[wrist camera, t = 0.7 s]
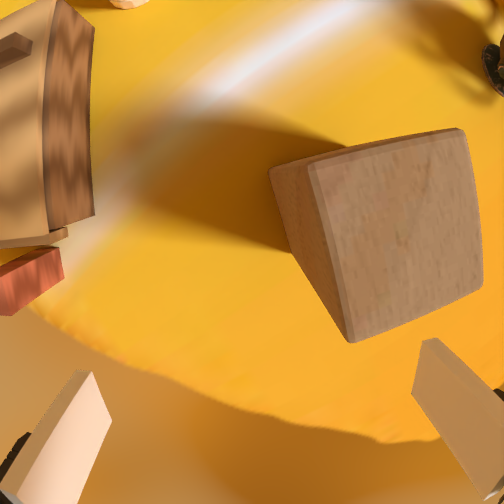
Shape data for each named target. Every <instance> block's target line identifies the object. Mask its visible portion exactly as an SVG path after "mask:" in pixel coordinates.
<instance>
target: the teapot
mask: <svg viewBox="0 0 504 504" xmlns="http://www.w3.org/2000/svg"><path fill="white" fill-rule="evenodd" d="M482 64H483V68H484V71H485V74H486V76H487V78H488V80H489V82H490V84H491V85H492V86H493V88H494V89H495V90H496V91H497V92H498V93H499V94H500V95H501V96H503V97H504V35H503V37H502V39H501V41H500V47H499V46H497V45H495V44H489V45H487V46H485V47H484V49H483V51H482Z"/></svg>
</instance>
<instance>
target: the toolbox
mask: <svg viewBox="0 0 504 504" xmlns="http://www.w3.org/2000/svg"><path fill="white" fill-rule="evenodd" d="M94 32H95V28H94V27H93V26H92V25H91V24H90V23H89V22H88V21H87V20H85V19H84V18H83V17H82V16H81V15H80V14H79V13H78V12H77V11H76V10H74V9H73V8H72V7H71V6H70V5H69V4H68V3H67V2H65V1H64V0H59V1H57V2H56V5H55V10H54V15H53V20H52V25H51V31H50V37H49V44H48V51H47V59H46V68H45V78H44V91H43V110H42V159H43V179H44V192H45V203H46V212H47V221H48V229H49V230H51V229H57V228H60V227H62V226H65V225H68V224H71V223H74V222H77V221H79V220H82V219H85V218H88V217H91V216H94V215H95V212H94V201H93V190H92V176H91V158H90V83H91V65H92V52H93V42H94Z"/></svg>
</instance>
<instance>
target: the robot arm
mask: <svg viewBox="0 0 504 504" xmlns="http://www.w3.org/2000/svg"><path fill="white" fill-rule="evenodd" d="M411 394H412V395H413V397H414V398H415V400H416V401H417V403H418V404H419V405H420V407H421V408H422V410H423V411H424V412H425V414H426V415H427V417H428V418H429V420H430V421H431V422H432V424H433V425H434V427H435V428H436V430H437V431H438V433H439V434H440V435H441V437H442V438H443V440H444V441H445V443H446V444H447V446H448V447H449V449H450V450H451V452H452V453H453V455H454V456H455V458H456V459H457V461H458V462H459V464H460V465H461V467H462V468H463V470H464V471H465V473H466V474H467V476H468V477H469V479H470V480H471V482H472V484H473V485H474V487H475V488H476V490H477V491H478V493H479V495H480V496H481V498H482V499H483V501H484V500H486V499H488V498H489V497H491V496H493V495H494V494H496V493H497V492H499V491H500V490H501V489H502V488H503V486H504V392H503V391H501V390H499V389H495V390H492V389H491V388H490V387H488V386H487V385H486V384H485V383H484V382H483V381H482V380H481V379H480V378H479V377H478V376H477V375H476V374H475V373H474V372H473V371H472V370H471V369H470V368H469V367H468V366H467V365H466V364H465V363H464V362H463V361H462V360H461V359H460V358H459V357H457V356H456V355H455V354H454V353H453V352H452V351H451V350H450V349H449V348H448V347H447V346H446V345H445V344H444V343H442V342H441V341H440V340H439V339H438V338H433V339H429V340H425V341H422V345H421V350H420V356H419V361H418V366H417V370H416V375H415V379H414V384H413V388H412V392H411ZM111 422H112V420H111V417H110V415H109V413H108V410H107V408H106V406H105V403H104V401H103V399H102V396H101V394H100V391H99V389H98V386H97V384H96V381H95V378H94V376H93V373H92V371H85V370H76V371H75V372H74V374H73V375H72V376H71V378H70V379H69V381H68V382H67V383H66V385H65V386H64V388H63V389H62V390H61V392H60V393H59V394H58V396H57V397H56V399H55V400H54V402H53V403H52V404H51V406H50V407H49V409H48V410H47V412H46V413H45V414H44V416H43V418H42V419H41V420H40V422H39V423H38V425H37V426H36V428H35V429H34V431H33V432H32V433H29V432H27V433H26V434H25V435H23V436H22V437H21V438H19V439H18V440H17V442H16V443H15V445H14V446H13V448H12V451H10V452H9V454H8V455H7V459H5V460H4V461H3V463H2V465H1V466H0V504H77V502H78V499H79V497H80V495H81V492H82V490H83V487H84V485H85V482H86V480H87V477H88V475H89V473H90V470H91V468H92V466H93V463H94V461H95V458H96V456H97V454H98V451H99V449H100V447H101V445H102V442H103V440H104V437H105V435H106V433H107V431H108V429H109V426H110V424H111ZM503 500H504V495H503V496H502V497H501V498H500V500H499V502H498V504H501V503H502V502H503Z"/></svg>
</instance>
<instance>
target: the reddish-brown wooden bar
mask: <svg viewBox="0 0 504 504" xmlns="http://www.w3.org/2000/svg"><path fill="white" fill-rule="evenodd" d="M63 279H64V273H63V268H62V263H61V257H60V251H59V248H48V249H36V250H34V251H32V252H29V253H27V254H25V255H23V256H21V257H19V258H16V259H14V260H12V261H10V262H8V263H6V264H4V265H2V266H0V315H3V316H12V315H13V314H15V313H16V312H17V311H19V310H20V309H21V308H23V307H24V306H26V305H27V304H28V303H30V302H31V301H32V300H34V299H35V298H37V297H38V296H40V295H41V294H42V293H44V292H45V291H47V290H48V289H49V288H51V287H52V286H54V285H55V284H57V283H58V282H60V281H61V280H63Z"/></svg>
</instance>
